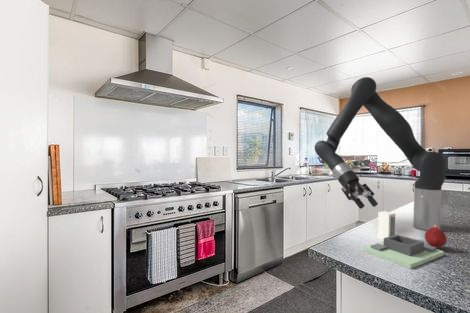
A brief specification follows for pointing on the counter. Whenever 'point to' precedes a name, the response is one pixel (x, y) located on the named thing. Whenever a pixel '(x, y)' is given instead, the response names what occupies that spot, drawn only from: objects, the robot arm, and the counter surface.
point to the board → (404, 251)
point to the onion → (435, 237)
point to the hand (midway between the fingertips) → (369, 206)
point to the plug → (386, 224)
